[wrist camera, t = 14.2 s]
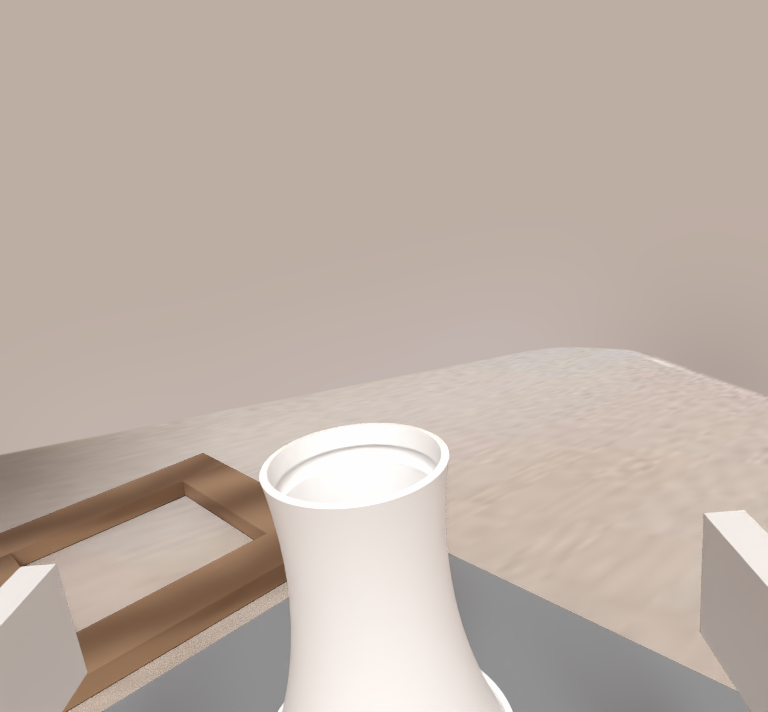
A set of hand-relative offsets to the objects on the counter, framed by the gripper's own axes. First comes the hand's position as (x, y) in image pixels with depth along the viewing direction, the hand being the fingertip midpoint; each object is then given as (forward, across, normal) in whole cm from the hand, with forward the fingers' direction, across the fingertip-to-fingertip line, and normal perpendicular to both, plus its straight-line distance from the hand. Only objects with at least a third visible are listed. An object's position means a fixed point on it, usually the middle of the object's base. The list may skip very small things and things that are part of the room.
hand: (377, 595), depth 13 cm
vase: (+4, -1, -9) cm, 10 cm away
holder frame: (+18, -15, -10) cm, 26 cm away
